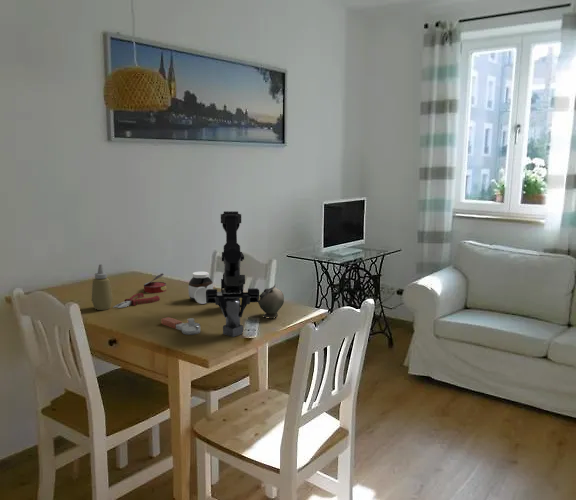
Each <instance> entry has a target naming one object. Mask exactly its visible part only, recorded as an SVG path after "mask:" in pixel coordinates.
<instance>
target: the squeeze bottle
mask: <svg viewBox="0 0 576 500" xmlns="http://www.w3.org/2000/svg"><path fill="white" fill-rule="evenodd" d="M91 287H92V288H91V302H92V304H93V307H94V309H95V310H96V309H97V311H105V310H109V309H111V306H112V303H113V298H114V297H113V293H112V292H113V291H112V286H111V280H110V278H108V273H107V272H105V270H104V267H103V264H100V263H99V265H98V269H97V272H96V273H95V274H94V279H92V285H91Z"/></svg>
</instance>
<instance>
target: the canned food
mask: <svg viewBox="0 0 576 500" xmlns="http://www.w3.org/2000/svg"><path fill="white" fill-rule="evenodd" d="M163 276H164V273H163V272H162V273H160V274H158V275H157V276H155V277H154V278H153V279H152V280H151V281H148V282H146V283H144V284H143V291H145V292H144V293H146V292H147V294H160V293H165V292H167V283H166V282H164V281H163V282H162V281H156V280H157V279H160V278H161V277H163Z"/></svg>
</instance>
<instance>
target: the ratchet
mask: <svg viewBox="0 0 576 500" xmlns="http://www.w3.org/2000/svg"><path fill="white" fill-rule="evenodd" d="M186 320H187V322H185V323H184V322H183V321H182V320H179V319H175V318H172V317H170V316H169V317H167V316H166V317H164V318H161V319H160V321H161V324H162V325H164V326H166V327H168V328H169V327H170V328H172V329H176V330H178V331H181V334H183V335H188V336H193V335H198V334H201V323H198V322H195V318H193V317H192V318H191V317H190V318H187V319H186Z"/></svg>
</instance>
